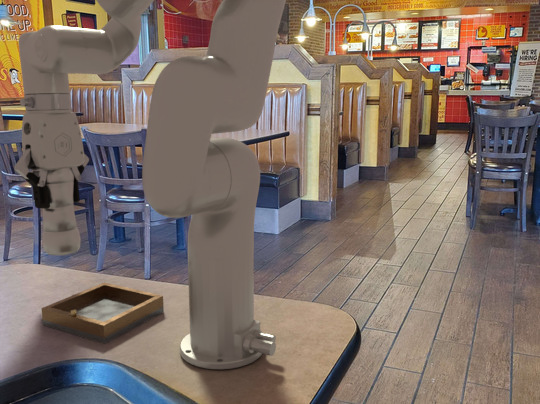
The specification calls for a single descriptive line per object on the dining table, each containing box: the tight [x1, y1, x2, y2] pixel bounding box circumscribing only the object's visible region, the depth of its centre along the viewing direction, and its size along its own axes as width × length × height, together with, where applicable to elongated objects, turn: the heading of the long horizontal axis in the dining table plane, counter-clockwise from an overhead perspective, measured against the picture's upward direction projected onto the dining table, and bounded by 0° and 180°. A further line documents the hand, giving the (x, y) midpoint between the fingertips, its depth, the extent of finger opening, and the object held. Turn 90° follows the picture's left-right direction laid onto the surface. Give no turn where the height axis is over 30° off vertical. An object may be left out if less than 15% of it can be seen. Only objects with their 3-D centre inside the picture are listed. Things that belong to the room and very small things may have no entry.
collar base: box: [41, 282, 164, 345], centre depth 91 cm, size 14×14×4 cm
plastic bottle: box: [38, 167, 82, 257], centre depth 98 cm, size 6×7×20 cm
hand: (58, 203), depth 98 cm, fingers closed on plastic bottle, 6 cm apart
